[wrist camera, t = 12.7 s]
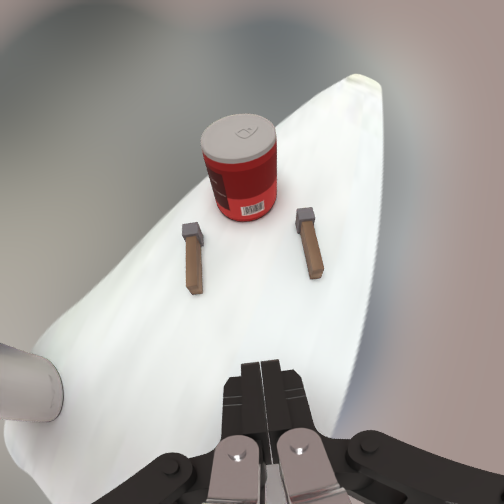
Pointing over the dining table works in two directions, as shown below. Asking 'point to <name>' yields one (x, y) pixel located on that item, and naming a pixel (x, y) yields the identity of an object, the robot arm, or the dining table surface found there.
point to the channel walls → (195, 265)
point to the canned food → (242, 165)
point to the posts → (195, 230)
